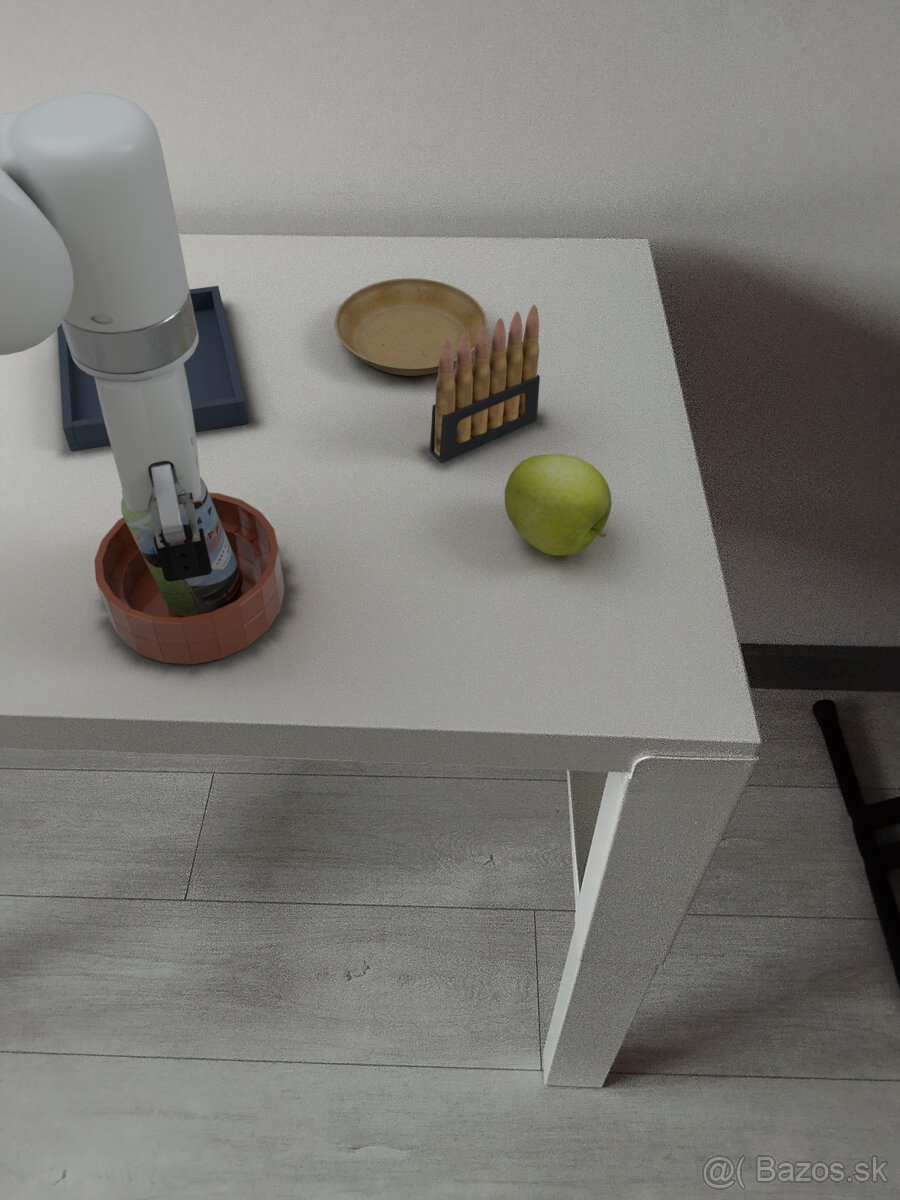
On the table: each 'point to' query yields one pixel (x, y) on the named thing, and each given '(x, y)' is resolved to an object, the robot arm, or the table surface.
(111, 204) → the robot arm
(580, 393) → the table surface
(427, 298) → the plant saucer
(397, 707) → the table surface
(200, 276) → the table surface
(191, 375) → the tray
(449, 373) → the ammunition clip
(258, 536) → the bowl
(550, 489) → the apple
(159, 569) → the beverage can
